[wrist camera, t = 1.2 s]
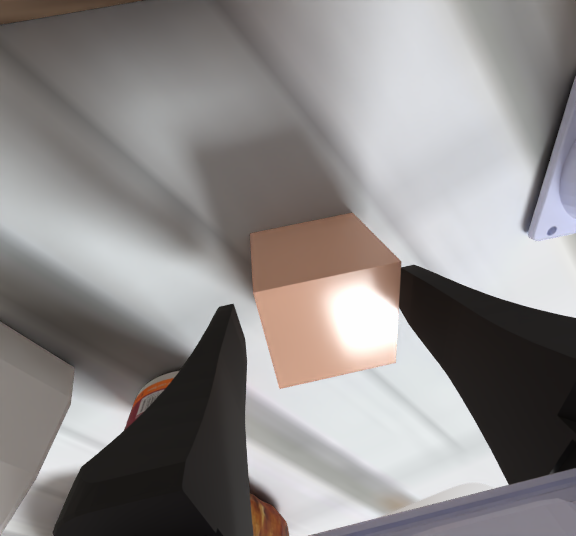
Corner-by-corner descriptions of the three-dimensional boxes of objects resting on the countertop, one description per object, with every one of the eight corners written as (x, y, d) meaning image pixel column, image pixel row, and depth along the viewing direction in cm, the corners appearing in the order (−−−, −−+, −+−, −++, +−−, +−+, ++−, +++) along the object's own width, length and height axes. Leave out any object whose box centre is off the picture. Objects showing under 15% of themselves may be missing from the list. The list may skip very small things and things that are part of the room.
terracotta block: (351, 211, 14) (401, 261, 9) (355, 294, 16) (395, 362, 12) (249, 232, 14) (253, 292, 9) (269, 312, 16) (279, 388, 12)
